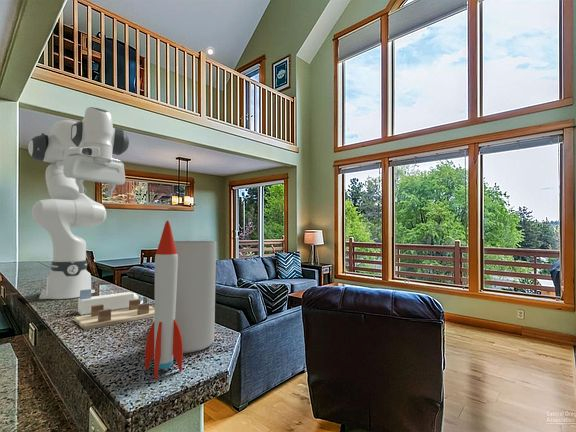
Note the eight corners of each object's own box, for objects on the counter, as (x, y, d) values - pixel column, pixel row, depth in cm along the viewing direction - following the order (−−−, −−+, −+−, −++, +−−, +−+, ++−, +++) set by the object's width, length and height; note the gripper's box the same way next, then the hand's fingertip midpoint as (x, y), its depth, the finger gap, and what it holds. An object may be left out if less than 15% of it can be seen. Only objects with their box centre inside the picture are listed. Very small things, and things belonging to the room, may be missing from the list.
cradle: (74, 320, 95) (74, 307, 96) (148, 308, 111) (148, 296, 111) (84, 329, 87) (84, 315, 87) (163, 314, 103) (163, 302, 103)
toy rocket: (182, 371, 63) (187, 220, 64) (154, 380, 59) (160, 220, 60) (171, 362, 67) (176, 221, 68) (143, 370, 63) (149, 220, 64)
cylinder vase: (213, 333, 85) (214, 240, 86) (215, 351, 73) (217, 243, 74) (163, 337, 82) (166, 240, 83) (157, 356, 70) (160, 243, 71)
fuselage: (77, 312, 105) (78, 289, 105) (135, 303, 118) (136, 282, 118) (81, 314, 102) (82, 291, 102) (140, 305, 115) (140, 284, 115)
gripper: (117, 161, 120) (116, 197, 119) (61, 148, 101) (59, 191, 101) (129, 160, 117) (128, 197, 117) (73, 147, 99) (72, 191, 98)
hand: (96, 194), depth 109 cm, fingers open, 8 cm apart
